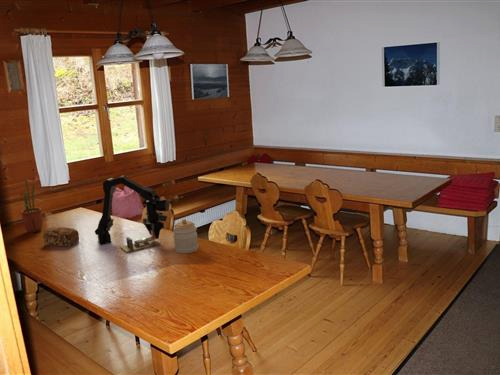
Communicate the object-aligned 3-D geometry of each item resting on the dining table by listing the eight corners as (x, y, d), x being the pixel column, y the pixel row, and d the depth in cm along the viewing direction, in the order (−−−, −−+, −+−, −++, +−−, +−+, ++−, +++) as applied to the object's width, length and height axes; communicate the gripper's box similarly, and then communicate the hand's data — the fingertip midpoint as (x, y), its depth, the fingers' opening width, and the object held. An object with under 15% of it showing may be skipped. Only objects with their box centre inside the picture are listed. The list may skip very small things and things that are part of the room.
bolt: (135, 244, 274) (134, 235, 273) (134, 243, 276) (133, 234, 275) (158, 239, 281) (157, 230, 280) (156, 238, 283) (155, 229, 282)
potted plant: (24, 230, 328) (15, 180, 321) (48, 226, 334) (40, 177, 327) (24, 237, 312) (14, 184, 305) (49, 232, 319) (41, 181, 311)
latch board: (126, 253, 267) (125, 242, 266) (120, 248, 277) (119, 237, 275) (160, 245, 278) (159, 234, 276) (153, 240, 287) (152, 230, 285)
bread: (43, 246, 292) (40, 230, 290) (54, 240, 302) (52, 225, 300) (69, 246, 287) (67, 230, 285) (80, 241, 297) (78, 225, 295)
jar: (194, 254, 259) (191, 222, 255) (171, 253, 262) (168, 222, 258) (201, 245, 271) (198, 215, 268) (179, 245, 274) (176, 215, 270)
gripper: (171, 211, 274) (173, 237, 277) (158, 205, 290) (161, 230, 293) (152, 215, 268) (155, 241, 272) (140, 209, 284) (143, 234, 287)
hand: (154, 236), depth 281 cm, fingers open, 9 cm apart
